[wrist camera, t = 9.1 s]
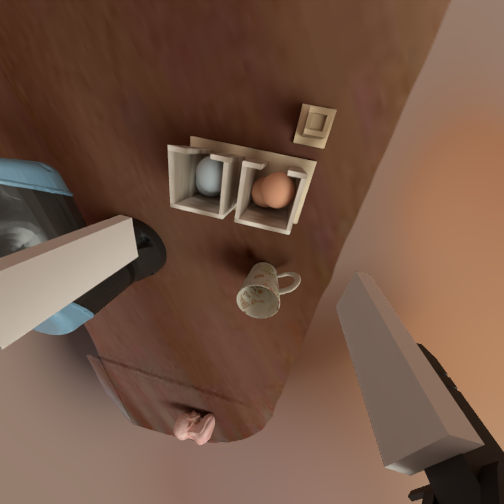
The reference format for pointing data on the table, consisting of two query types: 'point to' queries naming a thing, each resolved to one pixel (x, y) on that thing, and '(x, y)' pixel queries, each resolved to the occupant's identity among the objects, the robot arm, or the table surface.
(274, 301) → the mug
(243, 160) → the rack
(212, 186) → the grey ball upper
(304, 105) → the stand
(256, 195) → the terracotta ball in tube
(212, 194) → the grey ball lower
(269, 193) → the terracotta ball
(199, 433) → the figurine
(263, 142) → the table surface
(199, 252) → the table surface
